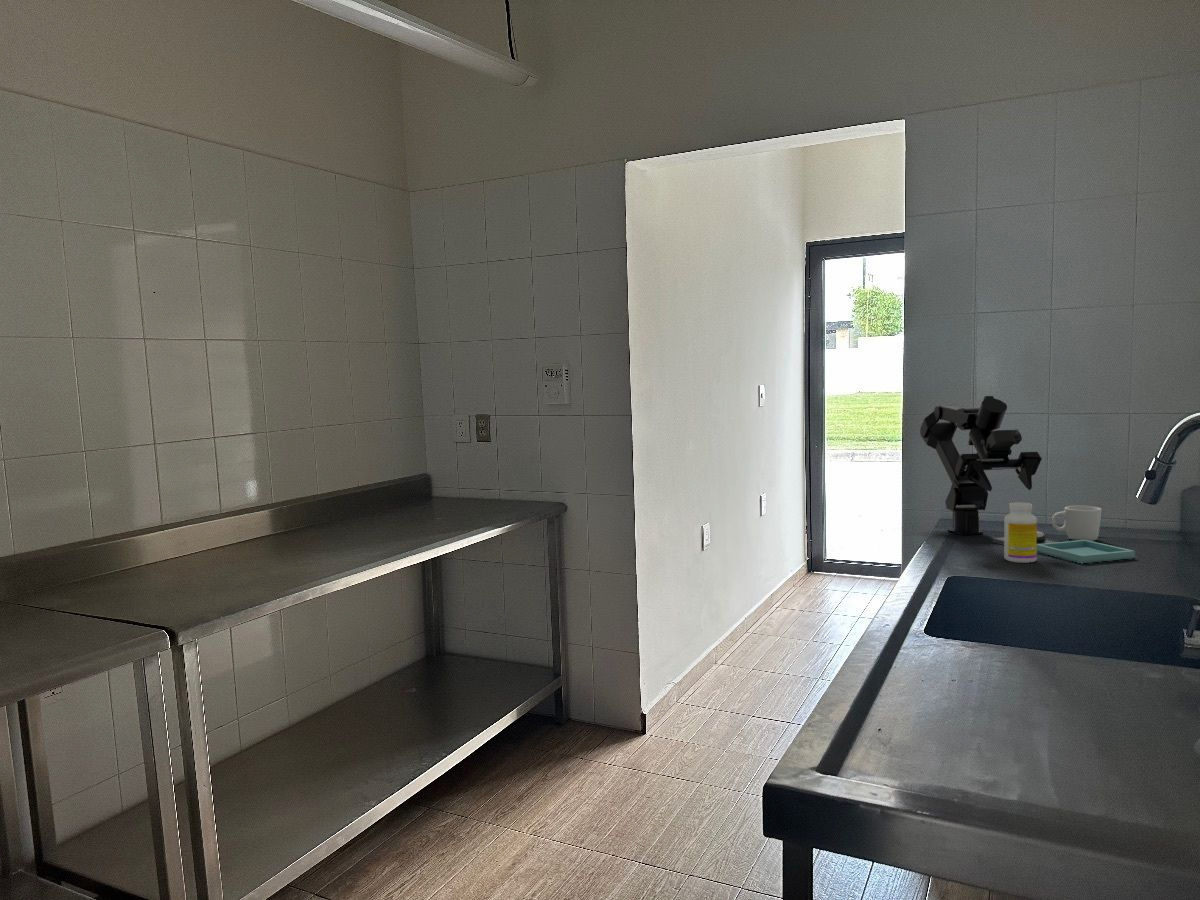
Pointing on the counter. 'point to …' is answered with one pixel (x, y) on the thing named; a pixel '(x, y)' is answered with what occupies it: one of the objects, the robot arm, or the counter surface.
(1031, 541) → the supplement bottle
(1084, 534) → the cup
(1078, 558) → the tray
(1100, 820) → the counter surface
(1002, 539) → the block
